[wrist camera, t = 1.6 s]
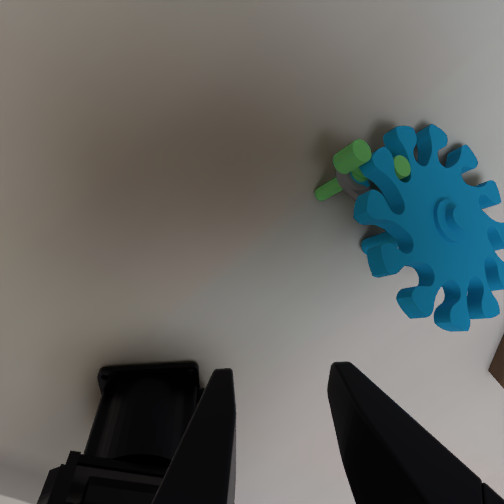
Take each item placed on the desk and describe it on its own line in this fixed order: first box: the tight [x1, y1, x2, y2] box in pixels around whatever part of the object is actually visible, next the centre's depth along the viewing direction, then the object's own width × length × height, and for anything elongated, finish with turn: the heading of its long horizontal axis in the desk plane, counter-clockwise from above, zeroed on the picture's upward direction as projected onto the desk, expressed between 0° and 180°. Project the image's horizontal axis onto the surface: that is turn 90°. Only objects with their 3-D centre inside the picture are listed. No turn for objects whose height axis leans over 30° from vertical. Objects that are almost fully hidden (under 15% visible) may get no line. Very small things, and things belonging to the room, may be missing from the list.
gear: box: [315, 124, 504, 331], centre depth 20 cm, size 11×6×10 cm
